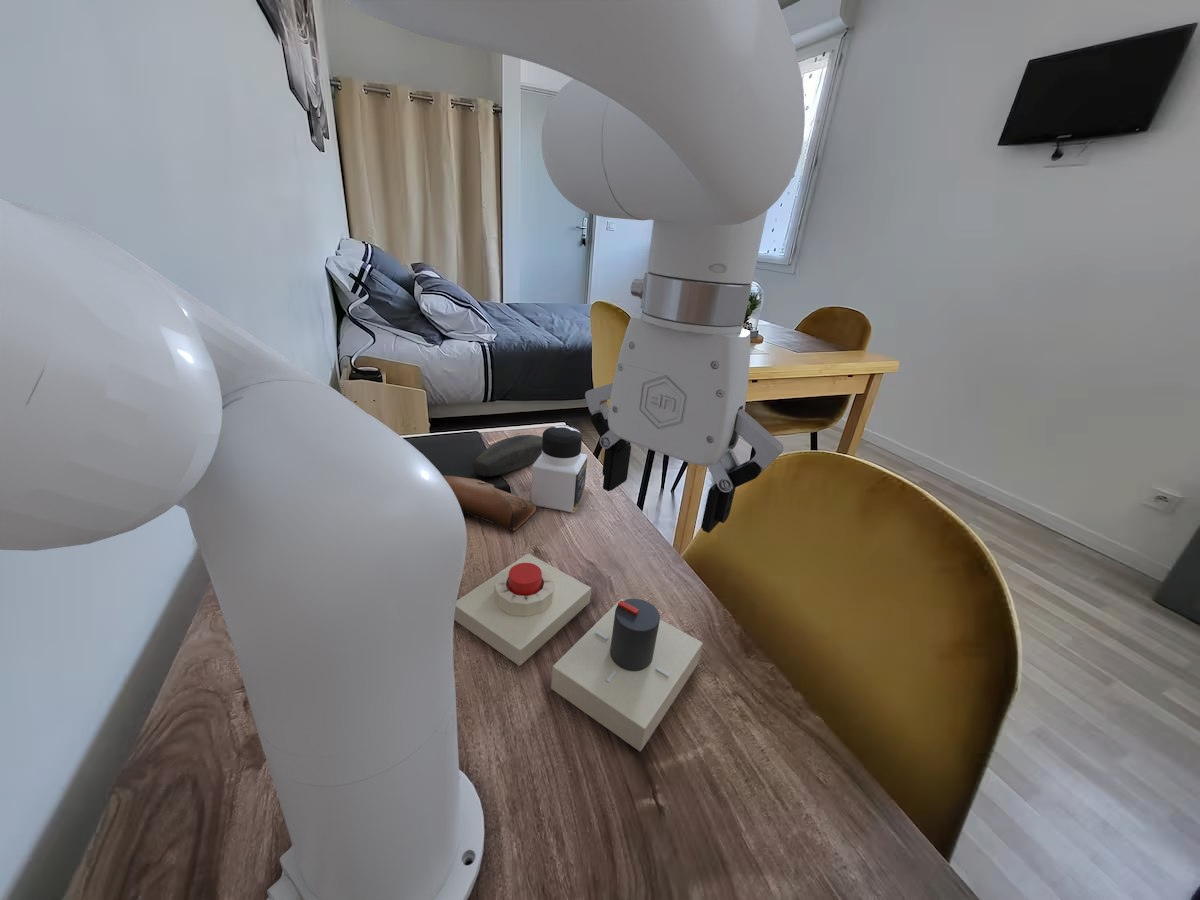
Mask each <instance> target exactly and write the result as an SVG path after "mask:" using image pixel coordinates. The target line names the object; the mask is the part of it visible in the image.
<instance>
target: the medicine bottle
mask: <svg viewBox="0 0 1200 900" xmlns="http://www.w3.org/2000/svg"><path fill="white" fill-rule="evenodd" d="M541 437H542V454H541V455H540V456H539V457H538V459H537V460H536V461H534V462H533V463H532V466H531V484H530V485H531V486H530V487H531V489H530V490H531V491H530V503H532V504H533V505H534V506H536V507H541V508H545V509H552V510H555V511H556V510H557V511H561V512H566V513H571V514H572V513H573V514H574V513H575V512H576V509H577V508H578V505H579V503H580V501H581V499H582V497H583V495H584V493H585V487H586V475H587V464H588V454H586V453H582V445H583V444H582V443H583V435H582V433H581V431H579V430H578V429H577V428H574V427H571V426H567V425H555V426H551V427H548V428H546V429H545V430H543V432H542V435H541Z"/></svg>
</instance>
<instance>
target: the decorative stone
mask: <svg viewBox="0 0 1200 900" xmlns="http://www.w3.org/2000/svg"><path fill="white" fill-rule="evenodd" d="M541 454H542V436H540V435H535V434H521V435H515V436H511V437H507V438H503V439H501V440H499V441H497V442H495V443H493V444H492V445H490V446H488V447H487V448H486V449H485V450H483V451H482V453H480V454H479V455H478V456H477V457H476V459H474V461H473V462H472V468H473V471H474V473H475V474H476V473H477V474H476V476H480V477H483V478H484V477H485V478H486V476H489V477H488V478H490V477H492V476H491V475H494V476H493V477H496V476H500V475H503V474H507V473H510V472H513V471H516V470H518V469H521V468H524V467H526V466H529V465H531V464H534V463H535V461H536V460H537V459H538V457H539V456H540V455H541ZM478 474H479V475H478ZM496 474H497V475H496ZM481 475H483V476H481Z"/></svg>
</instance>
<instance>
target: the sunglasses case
mask: <svg viewBox="0 0 1200 900" xmlns="http://www.w3.org/2000/svg"><path fill="white" fill-rule="evenodd" d="M442 476H443V477H444V479H445V480H446V481H447V483H448V484H449V486H450V487H451V489H452V490H453V492H454V494H455V496H456V498H457V500H458V502H459V505H460V507H461V510H462V513H465V514H469V515H471V516H473V517H476V518H479V519H482V520H485V521H488V522H490V523H493V524H495V525H499V526H502V527H504V528H506V529H510V530H512V531H513V532H517V530H519V529H520V528H521V527H523V525H525V523H527V522H528V521H529V519H531V517H532V516H533V515H534V514H535V513H536V512H537V510H538V506H535V505H533V504H532V503H531V501H528V500H526V499H525V498H522V497H520V496H518V495H515V494H512V493H511V492H508V491H505V490H503V489H499V488H497V487H495V484H492V483H488V482H485V481H483V480H480V479H476V478H469V477H463V476H458V475H457V476H456V475H442Z"/></svg>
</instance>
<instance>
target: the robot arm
mask: <svg viewBox="0 0 1200 900" xmlns="http://www.w3.org/2000/svg"><path fill="white" fill-rule="evenodd" d="M344 1H345V2H346V3H347V4H348V5H350V6H351V7H353V8H355V9H356V10H358V11H359V12H362V13H364V14H366V15H368V16H370V17H372V18H375V19H377V20H379V21H382V22H384V23H388V24H390V25H392V26H394V27H398V28H400V29H402V30H405V31H408V32H410V33H414V34H417V35H420V36H423V37H426V38H429V39H430V38H431V39H433V40H437V41H441V42H444V43H447V44H453V45H457V46H462V47H466V48H472V49H475V50H482V51H485V52H491V53H494V54H495V53H496V54H499V55H503V56H504V55H505V56H509V57H512V58H516V59H519V60H522V61H525V62H526V61H527V62H529V63H534V64H537V65H539V66H542V67H545V68H547V69H549V70H553V71H555V72H558V73H560V74H562V75H565V76H566V77H569V78H572V79H571V80H569V81H568V82H566V83H565V85H564V86H562V87H561V88H560V89H559V90H558V91H557V93H556V94H555V95H554V98H552V100H551V102H550V104H549V106H548V107H547V110H546V112H545V116H544V117H543V118H544V119H543V124H542V128H541V153H542V158H543V162H544V166H545V169H546V172H547V174H548V177H549V178H550V181H551V182H552V184H553V185H554V187H555V188H556V190H557V191H558V193H560V194H561V196H562V197H563V198H564V199H565V200H566V201H567V202H569V203H570V204H572V205H573V206H574V207H575V208H578V209H580V210H581V211H583V212H586V213H588V214H590V215H594V216H598V217H602V218H609V219H621V220H632V221H652V229H651V230H652V231H651V236H650V245H649V252H648V259H647V260H648V262H647V269H646V271H647V272H644V277H643V278H642V279H641V278H635V279H633V280H632V282H631V285H630V293H631V296H632V297H637V298H639V299H640V300H641V301H640V309H641V310H642V311H641V313H636V314H632V315H631V316H630V319H629V322H628V324H627V327H626V330H625V332H624V336H623V340H622V343H621V347H620V350H619V354H618V358H617V362H616V366H615V370H614V376H613V381H612V383H608V384H604V385H601V386H598V387H595V388H592V389H588V390H587V391H585V393H584V398H585V400H586V404H587V407H588V411H589V413H590V414H591V417H590V422H591V424H592V425H593V427H594V429H595V431H596V432H597V434H598V436H599V437H600V438H599V444H600V447H602V448H603V449H604V455H603V462H602V471H601V472H602V475H603V480H602V481H603V482H602V489H603V490H604V491H607V492H610V491H611V492H612V491H613V490H615V489H616V488H618V487H619V486H621V485H622V484H624V483H625V482H626V481H627V480H628V475H629V466H630V459H631V453H632V445H631V444H634V445H637V446H639V447H642V448H645V449H648V450H650V451H652V452H653V451H654V452H657V453H659V454H662V455H665V456H668V457H670V458H674V459H677V460H679V461H683V462H686V463H689V464H692V465H696V466H700V467H701V466H702V467H707V469H708V471H709V472H710V475H711V476H712V479H713V480H714V484H713V485H712V486H711V487H710V488H709V489H708V493H707V497H706V502H705V507H704V511H703V516H702V522H701V525H700V529H701V530H702V531H703V532H705V533H708V534H710V533H711V532H712V530H714V529H715V527H716V526H717V525H718V524H719V523H722V524H725V522H726V521H727V520H728V519H729V516H730V514H731V510H732V506H733V501H734V495H735V493H736V488H738V487H741V486H742V485H744V484H746V483H749V482H751V481H754V480H755V479H757V478H758V477H759V476H760V475H761V474H762V473H763V472H764V471H765V470H766V469H767V468H768V467H769V466H770V465H771V464H772V463H774V461H775V460H776V459H778V457H779V456H781V454H783V452H784V449H785V447H784V444H783V443H782V442H781V441H780V440H778V438H776V437H775V436H774V435H773V434H771V433H770V432H769V431H768V430H767V429H766V428H765V427H764V426H763V425H761V424H760V423H759V422H758V421H757V420H756V419H755V418H754V417H752V416H751V415H750V414H749V413H748V412H747V411H745V409H746V404H747V403H746V402H747V395H748V387H749V379H750V364H751V363H750V362H751V331H750V330H748V329H744V323H745V319H746V314H747V309H748V305H749V301H750V300H749V299H750V295H751V291H752V286H753V285H752V284H753V281H754V276H755V272H756V267H757V262H758V256H759V252H760V249H761V248H760V247H761V243H762V238H763V234H764V229H765V224H766V220H767V214H768V210H770V208H771V207H773V205H774V204H775V203H777V201H779V199H780V198H781V196H782V195H783V194H784V192H785V191H786V189H787V188H788V186H790V183H791V181H792V179H793V177H794V175H795V174H796V173H795V172H796V170H797V167H798V164H799V162H800V158H801V155H802V151H803V146H804V140H805V132H806V131H805V130H806V97H805V91H804V90H805V89H804V82H803V75H802V73H801V67H800V64H799V60H798V55H797V51H796V47H795V46H794V41H793V40H792V36H791V33H790V30H789V28H788V25H787V22H786V19H785V16H784V14H783V10H782V8H781V6H780V3H779V1H778V0H344ZM608 400H609V404H608ZM740 437H741V438H742V439H743V440H744V441H745V442H746V443H747V444H749V445H750V446H751V447H752V448H753V449H754V451H755V452H754V453H755V455H754V456H753V457H752V458H751V459H749V460H747V461H745V462H743V463H740V461H739V459H738V458H737V456H736V454H735V452H734V449H735V447H736V446H737V444H738V442H739V438H740ZM443 476H444V475H442V473H441V472H440V471H439V469H437V468H436V466H435V465H434V464H433V463H432V462H431V461H430V460H429V459H428V458H427V457H426V456H425V455H424V454H423V453H422V452H420V450H418V449H417V448H416V447H415V446H414V445H412V444H411V443H410V442H409V441H407V440H406V439H404V438H403V437H402V436H401V435H399V434H398V433H397V432H396V431H394V430H393V429H391V428H390V427H388V426H387V425H385V423H383V422H381V421H380V420H379V419H377V418H376V417H374V416H373V415H371V414H369V413H368V412H366V411H365V410H364V409H362V408H361V407H360V406H358V405H357V404H356V403H354V402H353V401H351V400H350V399H348V398H347V397H346V396H344V395H343V394H342V393H340V392H339V391H337V389H335V388H333V387H332V386H331V385H329V384H328V383H326V382H325V381H323V380H321V379H320V378H318V377H317V376H315V375H313V374H312V373H310V372H309V371H307V370H306V369H304V368H302V367H301V366H299V365H298V364H297V363H295V362H294V361H292V360H291V359H289V358H288V357H286V356H285V355H283V354H281V353H280V352H278V351H277V350H275V349H274V348H272V347H271V346H269V345H268V344H267V343H265V342H263V341H262V340H261V339H259V338H257V337H256V336H255V335H253V334H251V333H250V332H248V331H247V330H245V329H243V328H242V327H241V326H239V325H238V324H236V323H235V322H233V321H231V320H230V319H229V318H228V317H226V316H225V315H223V314H221V313H220V312H218V311H217V310H215V309H213V308H212V307H211V306H209V305H208V304H207V303H205V302H203V301H202V300H200V299H199V298H197V297H195V296H194V295H193V294H192V293H190V292H188V291H186V290H185V289H184V288H183V287H181V286H179V285H177V284H176V283H174V282H173V281H171V280H170V279H169V278H167V277H165V276H164V275H162V274H161V273H159V271H157V270H155V269H153V268H152V267H151V266H149V265H148V264H146V263H145V262H143V261H142V260H140V259H138V258H137V257H136V256H134V255H132V254H131V253H129V252H128V251H127V250H124V248H122V247H120V246H119V245H117V244H116V243H114V242H112V241H110V240H108V239H107V238H106V237H104V236H102V235H100V233H99V234H98V233H97V232H95V231H93V230H92V229H89V228H87V227H85V226H83V225H81V224H80V223H77V222H75V221H72V220H70V219H67V218H66V217H62V216H60V215H57V214H54V213H52V212H49V211H46V210H43V209H40V208H36V207H32V206H29V205H26V204H22V203H18V202H14V201H9V200H5V199H3V198H1V197H0V550H1V551H32V552H33V551H34V552H35V551H47V550H51V549H53V550H54V549H61V548H62V549H63V548H68V547H69V548H70V547H75V546H82V545H83V546H84V545H90V544H93V543H96V542H100V541H102V540H106V539H110V538H113V537H116V536H119V535H122V534H125V533H128V532H131V531H135V530H137V529H138V528H140V527H142V526H144V525H146V524H147V523H149V522H151V521H153V520H155V519H156V518H159V517H160V516H162V515H163V514H165V513H167V512H168V511H170V510H171V509H172V508H173V507H174V506H178V507H180V508H182V509H184V511H185V513H186V515H187V517H188V521H189V526H190V529H191V533H192V535H193V537H194V539H195V542H196V544H197V547H198V549H199V551H200V554H201V557H202V559H203V562H204V564H205V567H206V570H207V573H208V576H209V579H210V581H211V584H212V587H213V589H214V593H215V596H216V599H217V601H218V605H219V608H220V611H221V614H222V617H223V620H224V623H225V626H226V629H227V632H228V634H229V637H230V640H231V643H232V646H233V649H234V652H235V655H236V659H237V663H238V667H239V671H240V675H241V678H242V683H243V686H244V690H245V693H246V697H247V700H248V701H247V702H248V704H249V708H250V711H251V714H252V719H253V722H254V726H255V730H256V731H257V735H258V739H259V742H260V746H261V749H262V752H263V754H264V756H265V758H266V762H267V765H268V769H269V772H270V775H271V778H272V782H273V785H274V789H275V792H276V795H277V798H278V802H279V805H280V808H281V812H282V816H283V819H284V822H285V826H286V828H287V832H288V835H289V839H290V842H291V846H290V847H289V848H288V849H287V850H286V851H285V852H284V853H282V855H281V856H280V857H279V863H280V866H281V869H282V870H281V871H282V872H281V876H280V877H279V878H278V879H277V881H275V882H274V883H273V884H272V885H271V886H270V887H269V888H268V889H267V890H266V894H267V896H268V897H267V898H266V899H265V900H469V897H470V896H471V894H472V890H473V888H474V886H475V883H476V880H477V879H478V875H479V873H480V868H481V865H482V859H483V855H484V850H485V849H484V846H485V818H484V817H485V816H484V811H483V808H482V803H481V799H480V797H479V794H478V792H477V790H476V788H475V786H474V784H473V783H472V781H471V780H470V779H469V777H468V775H466V774H465V772H464V771H462V770H461V769H460V762H459V761H460V760H459V759H460V758H459V739H458V737H459V736H458V718H457V716H458V715H457V697H456V696H457V695H456V693H457V692H456V680H455V679H456V678H455V664H454V625H455V620H454V615H455V607H456V601H457V600H458V595H459V591H460V586H461V582H462V577H463V574H464V568H465V562H466V557H467V547H468V537H467V525H466V521H465V517H464V512H462V510H461V507H460V505H459V502H458V500H457V498H456V496H455V494H454V492H453V490H452V489H451V487H450V486H449V484H448V483H447V481H446V480H445V479H444V477H443ZM468 862H471V863H470V864H468V865H467V863H468Z"/></svg>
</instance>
